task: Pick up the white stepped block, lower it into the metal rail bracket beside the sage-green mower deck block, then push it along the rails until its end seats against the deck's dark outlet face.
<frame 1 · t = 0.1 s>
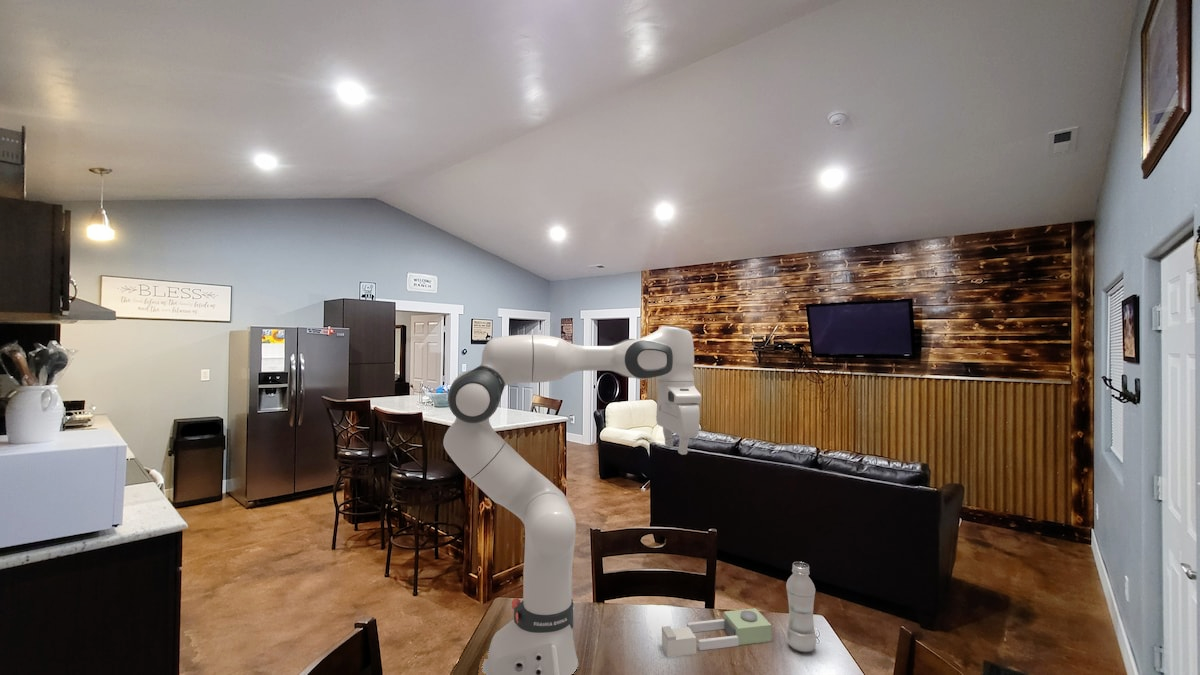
hand: (675, 449, 120), 48 cm above the table, tool pointing down, fingers open, 8 cm apart
white stepped block: (678, 650, 119), on the table
deck: (747, 634, 126), on the table
plastic bottle: (801, 649, 120), on the table
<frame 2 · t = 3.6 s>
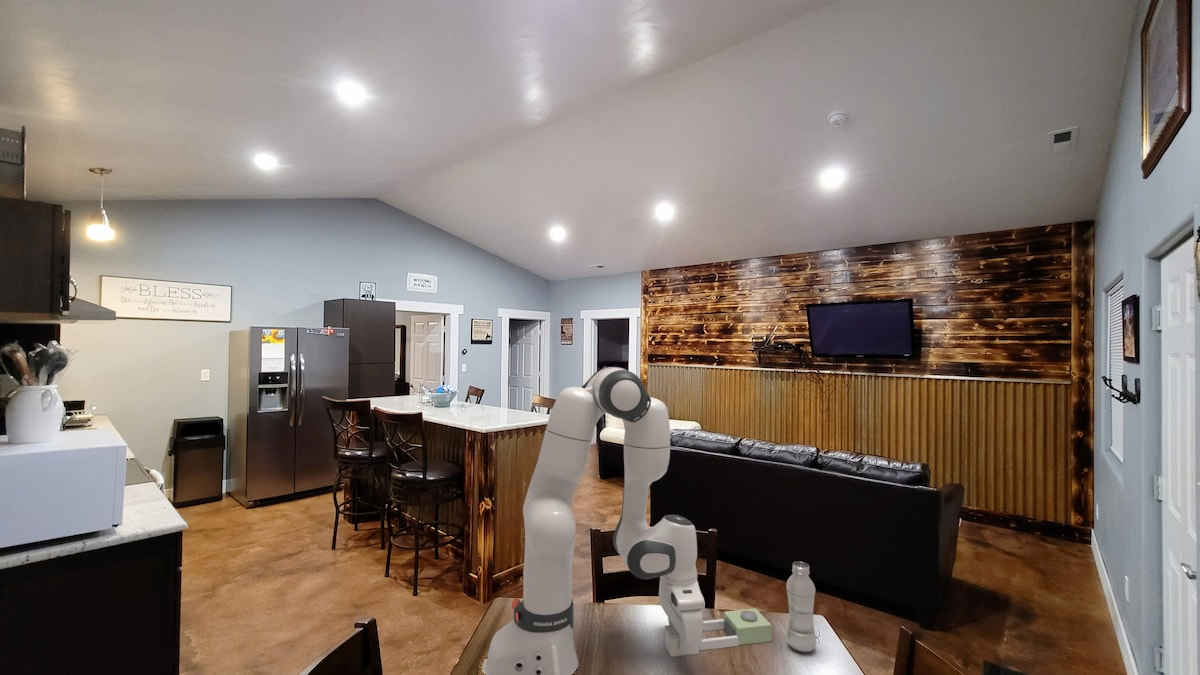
hand: (678, 642, 119), 2 cm above the table, tool pointing down, fingers closed on white stepped block, 4 cm apart
white stepped block: (681, 649, 119), on the table, touching gripper
everything else where it was.
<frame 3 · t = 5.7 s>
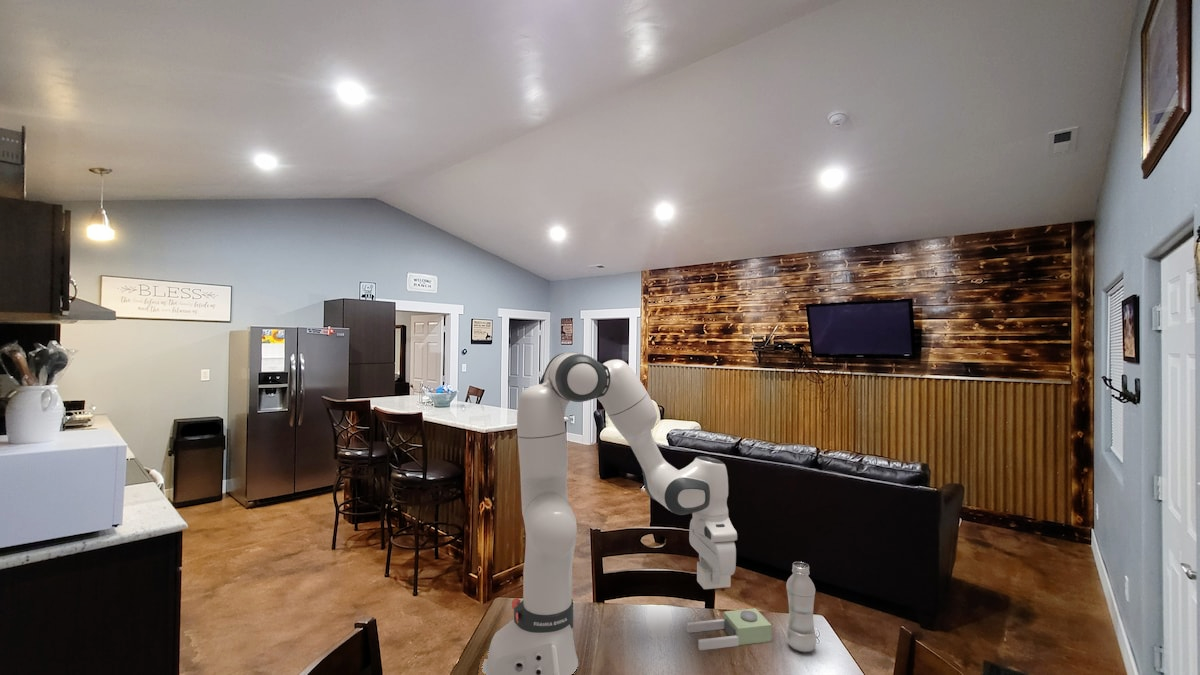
hand: (710, 577, 124), 15 cm above the table, tool pointing down, fingers closed on white stepped block, 4 cm apart
white stepped block: (713, 583, 124), point 13 cm above the table, touching gripper
everything else where it was.
when the fingers open (3 cm above the table, at t = 8.2 s): white stepped block drops 1 cm, resting in deck.
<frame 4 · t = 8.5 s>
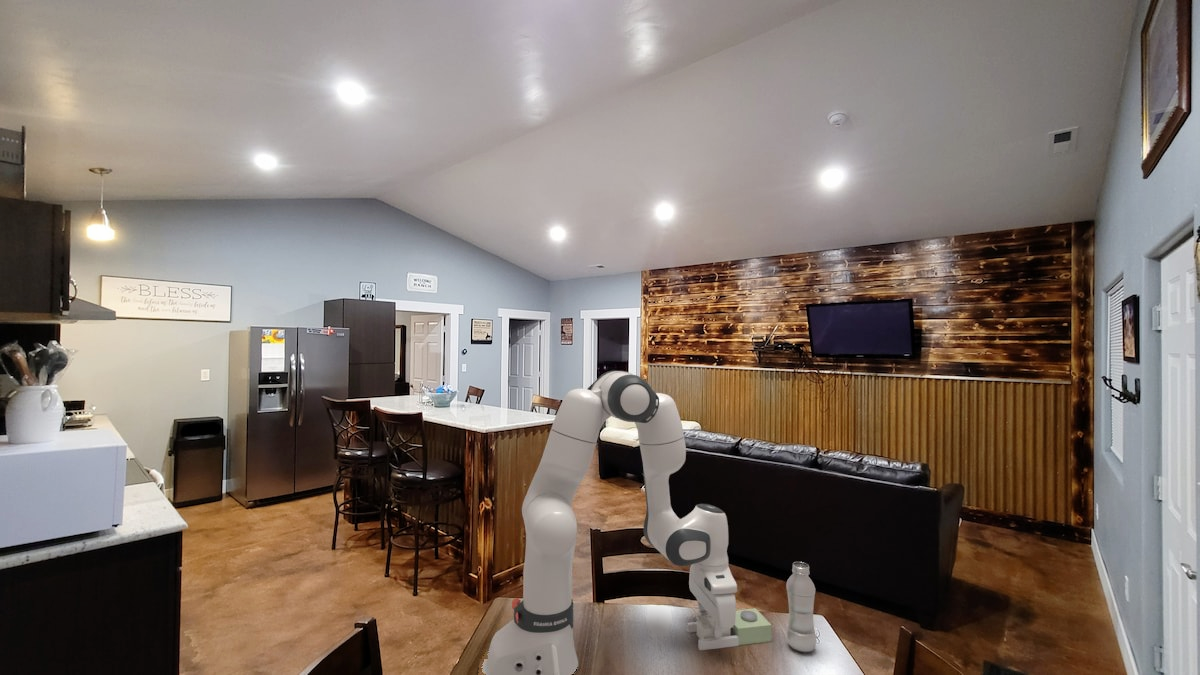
hand: (710, 626, 124), 3 cm above the table, tool pointing down, fingers open, 7 cm apart
white stepped block: (713, 638, 124), resting in deck
everything else where it was.
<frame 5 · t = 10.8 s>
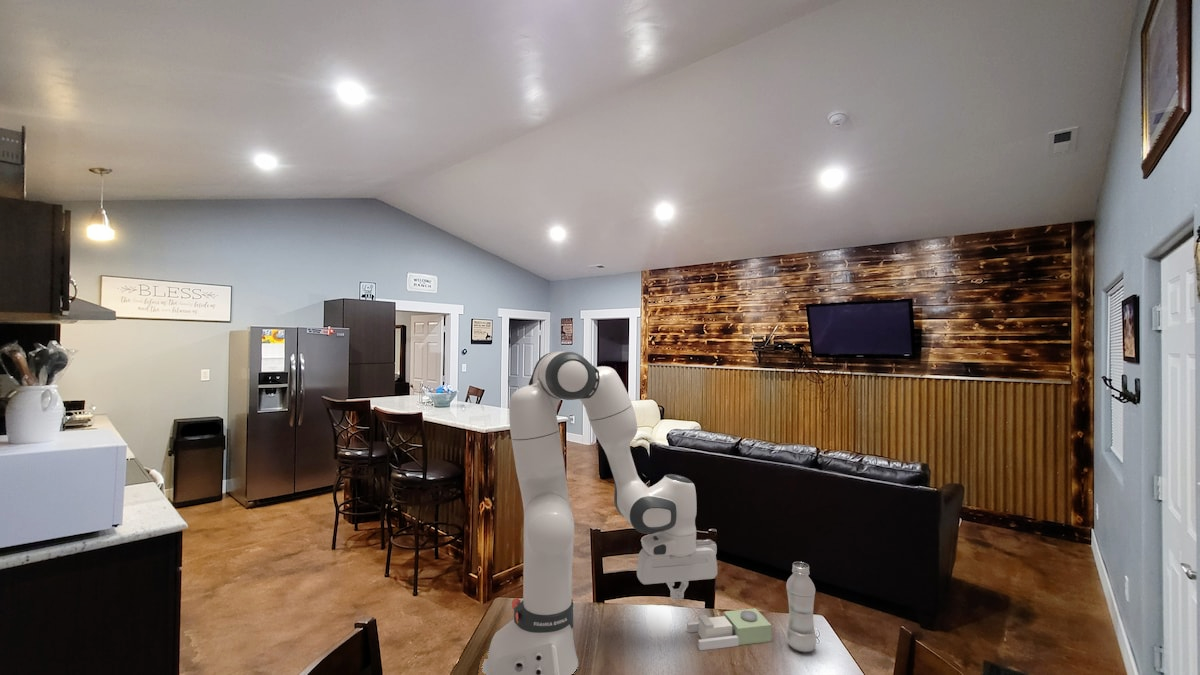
hand: (676, 597, 123), 11 cm above the table, tool pointing down, fingers closed
nothing on the table moved.
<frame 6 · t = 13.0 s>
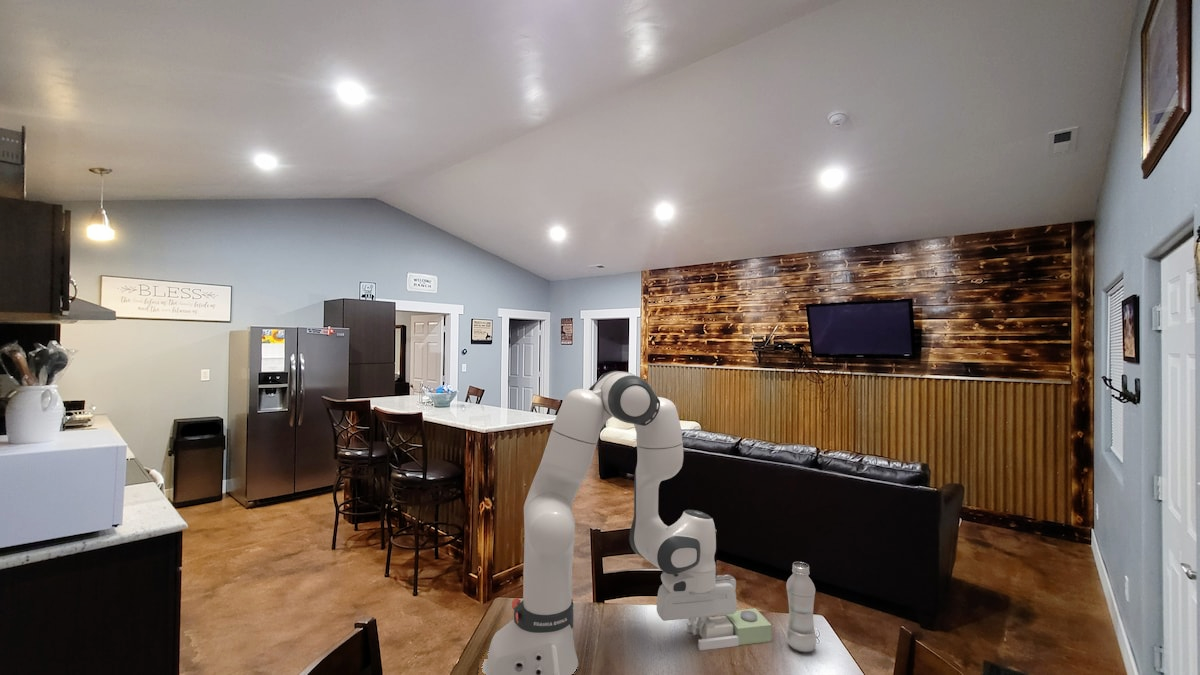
hand: (696, 633, 123), 2 cm above the table, tool pointing down, fingers closed
white stepped block: (716, 638, 124), resting in deck, touching gripper
everything else where it was.
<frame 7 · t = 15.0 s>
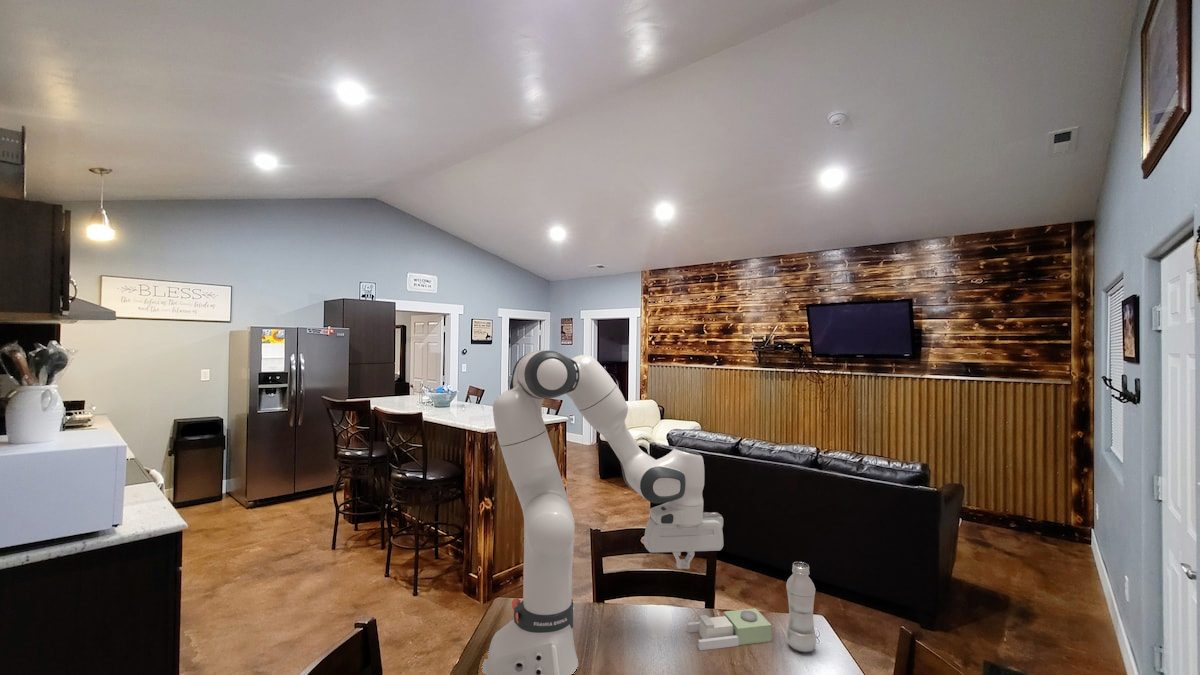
hand: (682, 567, 125), 17 cm above the table, tool pointing down, fingers closed
white stepped block: (716, 638, 124), resting in deck
everything else where it was.
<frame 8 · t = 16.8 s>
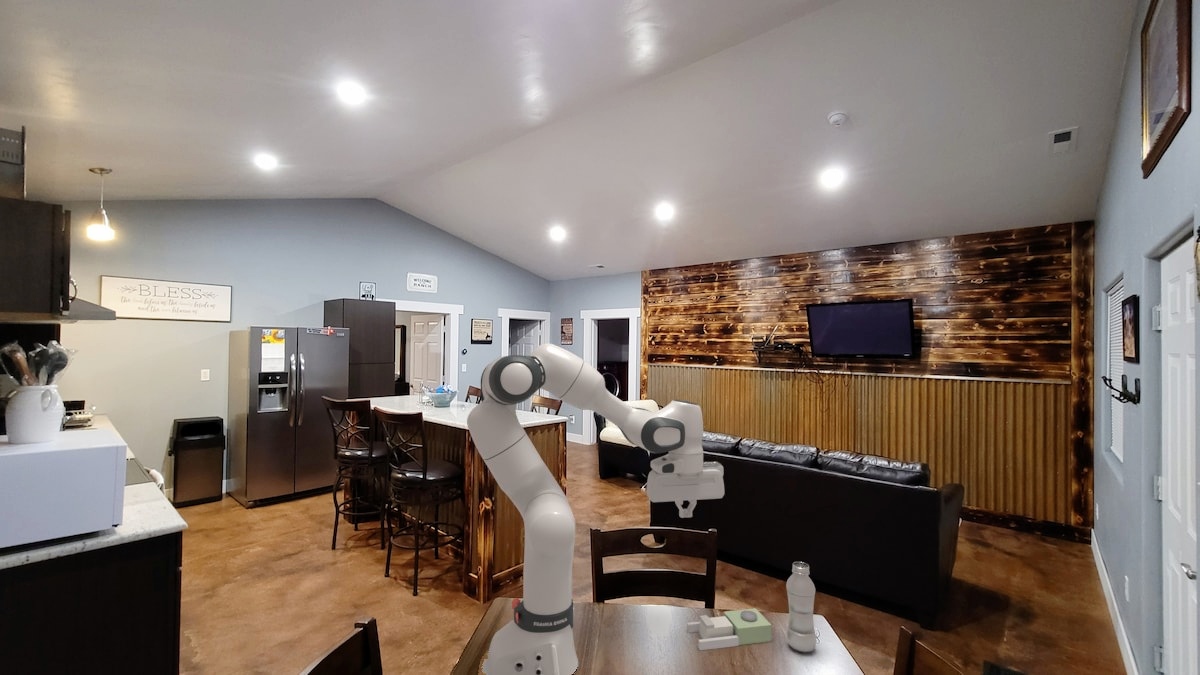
hand: (685, 516, 127), 29 cm above the table, tool pointing down, fingers closed
nothing on the table moved.
at the end: white stepped block 0.1 cm from the target spot, resting in deck; white stepped block tilted 0° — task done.
